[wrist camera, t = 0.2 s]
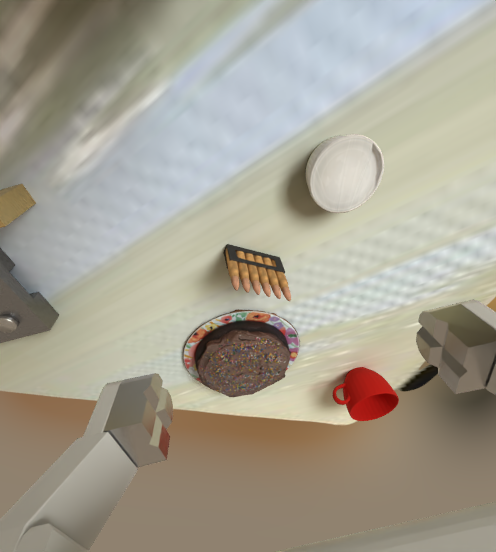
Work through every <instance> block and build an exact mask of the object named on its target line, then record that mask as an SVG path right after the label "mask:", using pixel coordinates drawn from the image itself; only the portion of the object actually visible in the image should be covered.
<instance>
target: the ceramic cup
mask: <svg viewBox="0 0 496 552" xmlns="http://www.w3.org/2000/svg"><path fill="white" fill-rule="evenodd" d="M340 388H343V394H344V401H342V400H340V399H338V398H337V396H336V391H337V390H338V389H340ZM333 399H334V400H335V402H336V403H338V404H341V405H344V404H346V406H347V409H348V412H349V414H350V416H351V417H352V418H353V419H355V420H358V421H368V420H373V419H377V418H379V417H382V416H384V415H386V414H387V413H389V412H391V411H392V410H393V409H394V408H395V407H396V406H397V404H398V401H399V399H398V396H397V394H396V393H395V391H394V390H393V389H392V387H391V386H390V385H389V383H388V382H387V381H386V380H385V379H384V378H383V377H382V376H381V375H379V374H378V373H376V372H374V371H372V370H369V369H367V368H364V367H359V368H355V369H353V370H351V371H350V372H348V374H347V375H346V378H345V381H344V384H341V385H339V386H337V387H336V388H335V389H334V391H333Z"/></svg>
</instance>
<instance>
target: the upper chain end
mask: <svg viewBox="0 0 496 552" xmlns="http://www.w3.org/2000/svg"><path fill="white" fill-rule="evenodd" d="M58 316H59V314H58V313H57V312H56V311H55V310H54V308H53V307H52V306H51V305H50V304H49V303H48V302H47V300H46V299H45V298H44V297H43V296H42V295H41V294H40V293H39V292H36V293H32V294H29V293H28V292H27V291H26V290H25V289H24V288H23V287H22V286H21V285H20V284H19V282H18V281H17V280H16V279H15V278H14V277H13V276H12V275H11V274H10V273H9V271H8V270H7V269H6V268H5V267H4V266H3V265H2V264H1V263H0V343H2V342H6V341H10V340H14V339H18V338H21V337H25V336H29V335H33V334H37V333H41V332H45V331H48V330H50V329H51V328H52V326H53V324H54V323H55V321H56V319H57V318H58Z"/></svg>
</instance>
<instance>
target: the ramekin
mask: <svg viewBox="0 0 496 552" xmlns="http://www.w3.org/2000/svg"><path fill="white" fill-rule="evenodd" d="M383 171H384V159H383V154H382V151H381V149H380V148H379V146H378V145H377V144H376V143H375V142H374V141H373V140H372V139H370V138H368V137H366V136H363V135H358V134H349V135H339V136H334V137H331V138H329V139H327V140H325V141H324V142H322V143H321V144H319V146H318V147H316V149H315V150H314V151H313V153H312V154H311V156H310V158H309V160H308V163H307V167H306V181H307V185H308V188H309V192H310V194H311V197H312V198H313V200H314V201H315V203H316V204H317V205H318V206H320V207H321V208H322V209H324V210H326V211H329V212H333V213H344V212H348V211H351V210H354V209H356V208H358V207H359V206H361V205H362V204H364V203H365V202H366V201H367V200H368V199H369V198H370V197H371V196H372V195H373V193H374V192H375V191H376V189H377V187H378V186H379V184H380V182H381V179H382V175H383Z"/></svg>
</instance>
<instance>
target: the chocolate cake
mask: <svg viewBox="0 0 496 552" xmlns="http://www.w3.org/2000/svg"><path fill="white" fill-rule="evenodd" d="M299 343H300V341H299V338H298V334H297V332H296V330H295V328H294V327H293V326H292V325H291V324H290V323H289V322H288V321H286V320H285V319H283V318H281V317H279V316H277V315H276V314H274V313H271V314H270V313H266V312H263V311H253V310H235V311H233V312H230V313H228V314H224V315H222V316H220V317H217V318H215V319H213V320H211V321H209V322H207V323H205V324H203V325H202V326H200V327H199V328H198V329H197V330H196V331H195V332H194V333H193V334H192V335H191V337H190V338H189V339H188V341H187V343H186V345H185V347H184V354H183V357H184V364H185V366H186V369H187V370H188V372H189V373H190V374H191V375H192V376H193V377H194V378H195V379H196V380H198V381H199V382H201V383H203V384H204V385H205V386H207V387H209V388H210V389H213V390H216V391H218V392H219V393H220V392H221V393H222V394H225V395H227V396H229V397H237V396H242V395H249V394H254V393H255V392H257V391H260V390H262V389H264V388H266V387H267V386H270V385H272V384H274V383H275V382H277V381H279V380H281V379H282V378H284V377H285V371H286V370H287V369H288V368H289V367H290V366H291V365H292V363H293V362H294V360H295V359H296V357H297V355H298V352H299V347H300V344H299Z"/></svg>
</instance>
